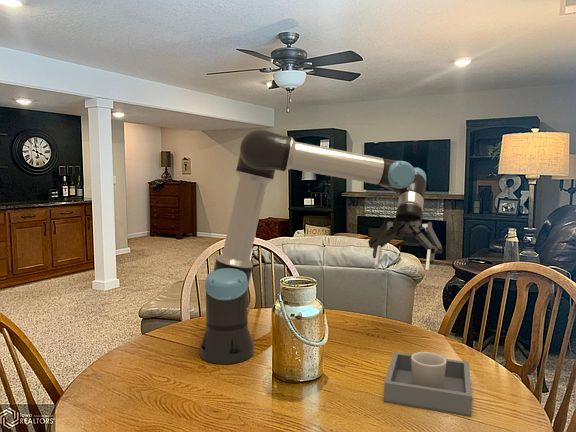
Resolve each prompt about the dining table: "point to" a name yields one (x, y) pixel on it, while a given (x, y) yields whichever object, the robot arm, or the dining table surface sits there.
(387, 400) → the tray
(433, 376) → the cup
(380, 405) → the dining table surface
